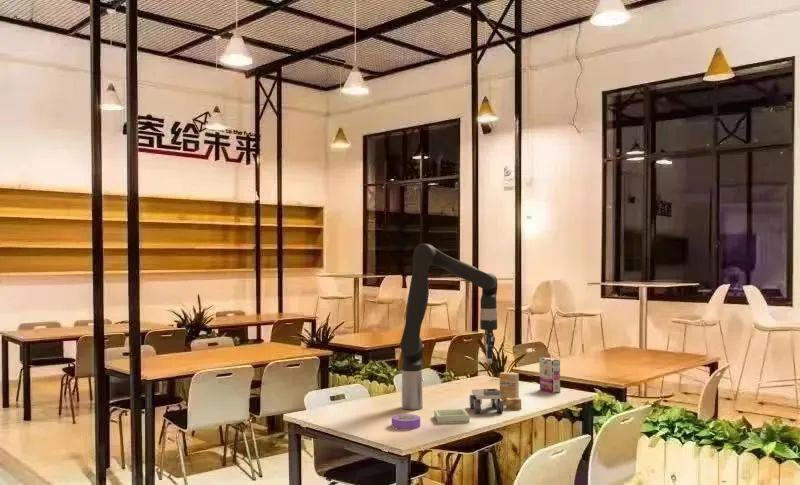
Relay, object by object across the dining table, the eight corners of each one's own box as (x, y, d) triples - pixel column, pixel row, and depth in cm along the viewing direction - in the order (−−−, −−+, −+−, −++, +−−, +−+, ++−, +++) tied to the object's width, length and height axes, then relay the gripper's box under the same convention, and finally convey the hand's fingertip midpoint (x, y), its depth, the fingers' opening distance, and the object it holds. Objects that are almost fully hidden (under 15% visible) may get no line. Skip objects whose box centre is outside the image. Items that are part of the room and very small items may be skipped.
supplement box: (499, 401, 320) (498, 373, 321) (502, 399, 325) (502, 371, 325) (516, 402, 316) (515, 374, 317) (519, 400, 321) (518, 372, 321)
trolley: (476, 414, 293) (476, 392, 293) (469, 406, 309) (469, 385, 309) (503, 413, 294) (503, 392, 294) (495, 406, 310) (495, 385, 310)
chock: (508, 409, 302) (508, 399, 302) (506, 407, 306) (505, 397, 306) (521, 409, 303) (521, 399, 303) (519, 407, 307) (518, 397, 307)
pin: (486, 364, 297) (486, 341, 297) (484, 363, 300) (484, 341, 300) (493, 364, 297) (493, 341, 297) (491, 363, 300) (491, 340, 300)
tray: (438, 423, 278) (438, 416, 278) (434, 416, 290) (434, 409, 290) (469, 422, 279) (469, 415, 279) (464, 415, 291) (464, 408, 291)
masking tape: (426, 426, 276) (426, 416, 276) (407, 431, 267) (407, 422, 267) (404, 421, 283) (404, 412, 284) (385, 427, 275) (385, 417, 275)
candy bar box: (561, 392, 339) (560, 359, 339) (553, 393, 336) (552, 360, 337) (547, 388, 349) (546, 356, 349) (539, 389, 347) (538, 357, 347)
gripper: (477, 317, 306) (477, 355, 305) (483, 320, 292) (484, 360, 291) (493, 317, 306) (493, 355, 306) (500, 319, 292) (501, 360, 292)
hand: (489, 357), depth 299 cm, fingers closed on pin, 2 cm apart
